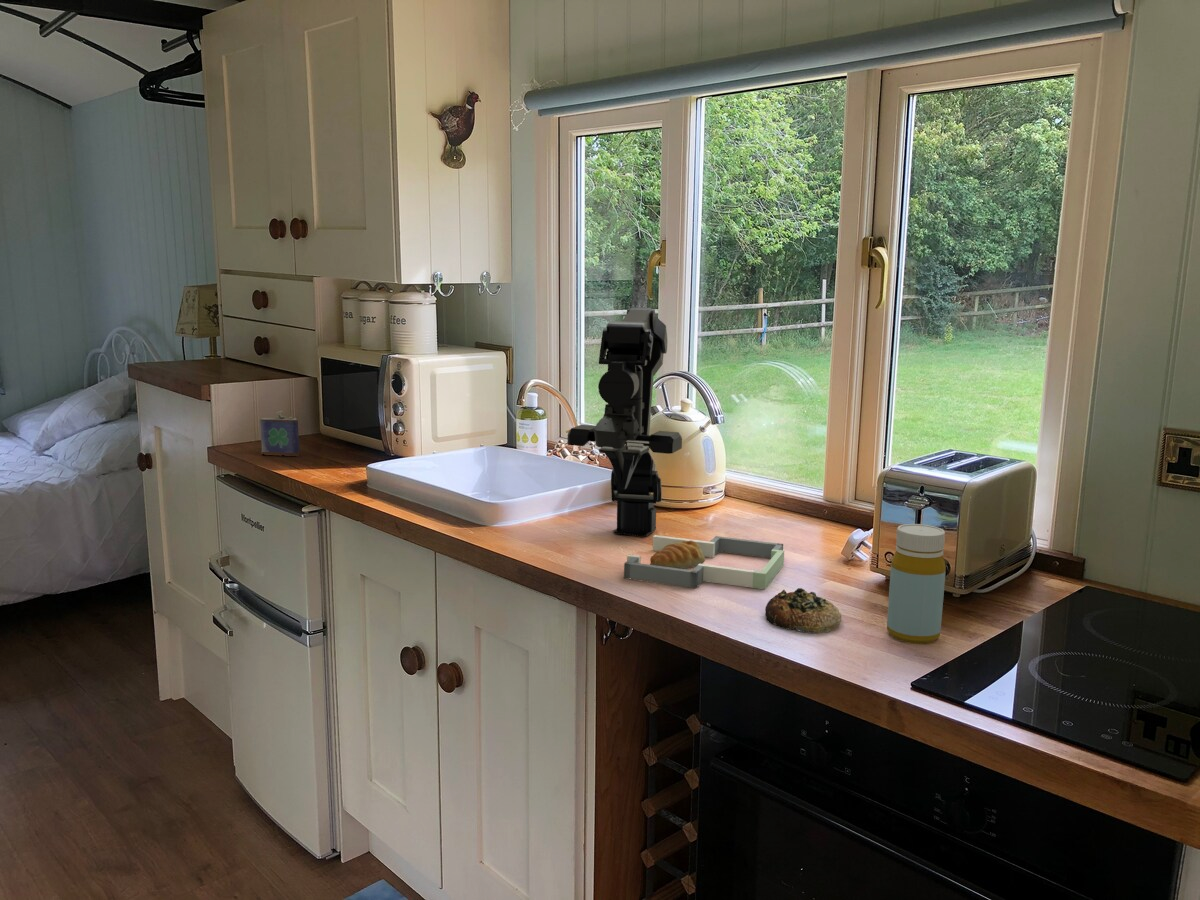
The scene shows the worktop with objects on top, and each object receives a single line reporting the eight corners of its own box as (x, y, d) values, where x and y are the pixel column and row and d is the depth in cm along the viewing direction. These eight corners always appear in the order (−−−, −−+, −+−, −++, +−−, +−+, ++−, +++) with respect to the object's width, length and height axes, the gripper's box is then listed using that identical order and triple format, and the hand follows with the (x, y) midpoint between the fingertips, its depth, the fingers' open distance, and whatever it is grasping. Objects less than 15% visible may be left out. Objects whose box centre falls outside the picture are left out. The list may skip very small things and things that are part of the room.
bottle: (878, 626, 139) (886, 523, 136) (927, 626, 139) (935, 522, 136) (897, 645, 132) (905, 537, 129) (948, 644, 132) (957, 536, 130)
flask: (260, 456, 253) (258, 411, 251) (265, 453, 256) (263, 409, 254) (297, 457, 252) (295, 412, 250) (302, 455, 255) (300, 410, 253)
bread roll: (748, 611, 144) (755, 578, 143) (811, 612, 148) (817, 580, 148) (791, 641, 134) (798, 606, 133) (857, 641, 138) (864, 607, 138)
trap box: (618, 577, 159) (618, 562, 158) (661, 543, 179) (662, 529, 178) (759, 597, 150) (759, 581, 150) (788, 558, 170) (789, 544, 170)
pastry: (667, 576, 160) (668, 553, 160) (639, 566, 166) (639, 544, 165) (708, 565, 166) (708, 543, 166) (679, 556, 172) (680, 535, 171)
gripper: (554, 399, 161) (553, 493, 164) (663, 407, 154) (660, 504, 157) (580, 392, 171) (579, 480, 174) (684, 398, 164) (681, 490, 167)
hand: (623, 488), depth 168 cm, fingers closed
